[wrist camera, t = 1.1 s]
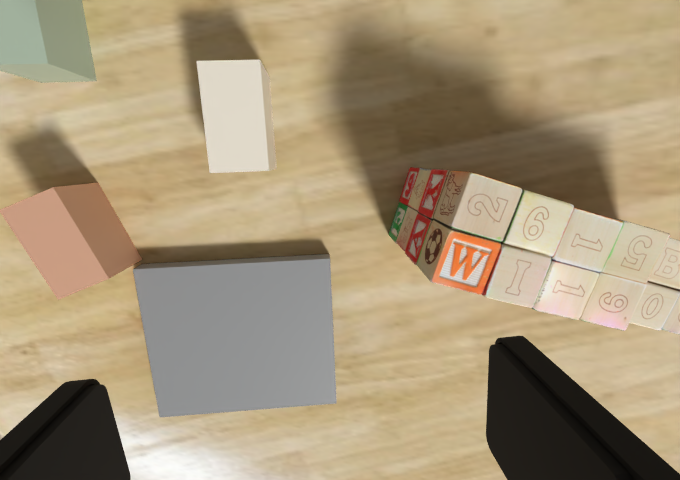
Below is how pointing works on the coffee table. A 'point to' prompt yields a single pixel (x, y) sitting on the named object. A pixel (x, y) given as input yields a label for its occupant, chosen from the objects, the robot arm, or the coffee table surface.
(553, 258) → the stack of blocks
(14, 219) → the terracotta brick
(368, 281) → the coffee table surface
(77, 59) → the sage brick
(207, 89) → the ivory brick
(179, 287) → the slate board
